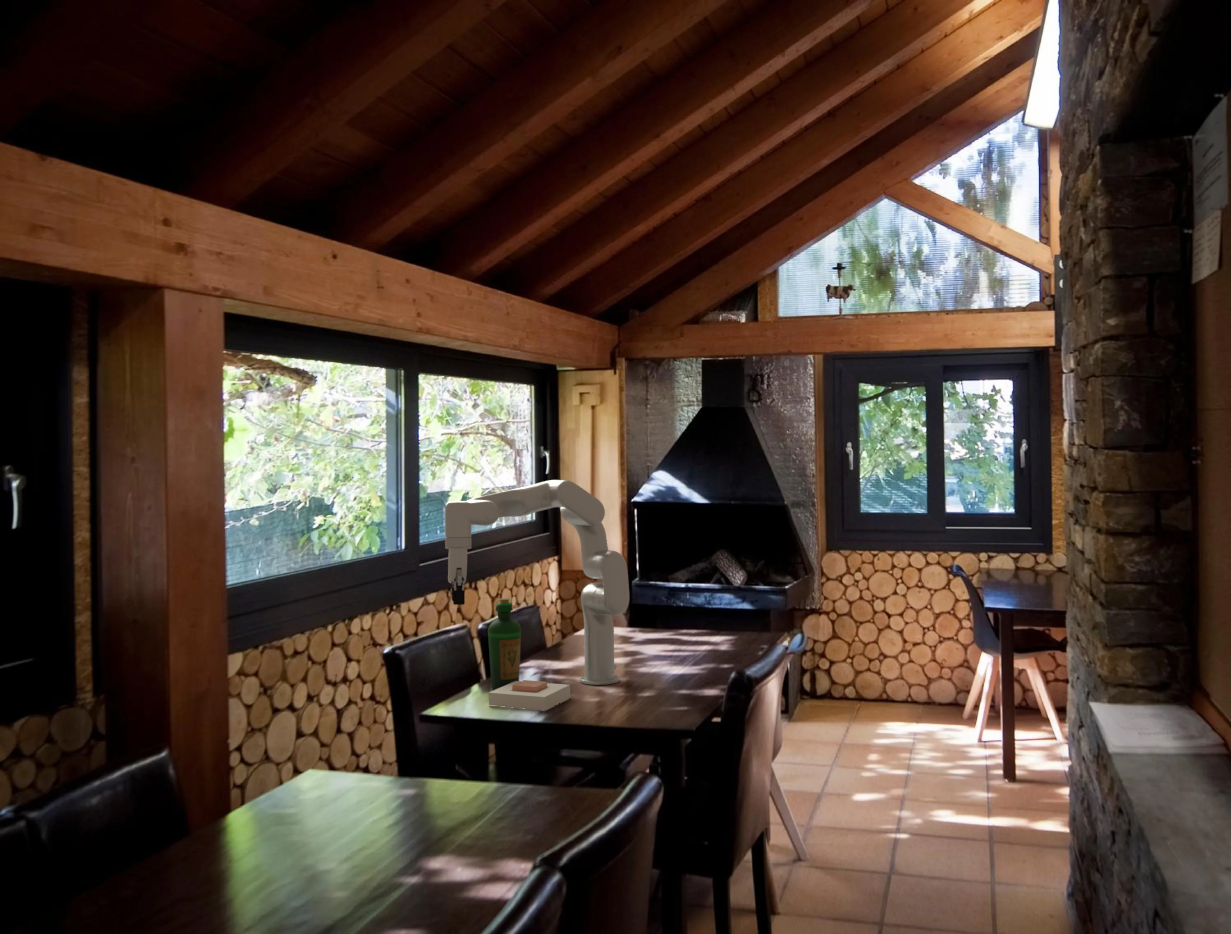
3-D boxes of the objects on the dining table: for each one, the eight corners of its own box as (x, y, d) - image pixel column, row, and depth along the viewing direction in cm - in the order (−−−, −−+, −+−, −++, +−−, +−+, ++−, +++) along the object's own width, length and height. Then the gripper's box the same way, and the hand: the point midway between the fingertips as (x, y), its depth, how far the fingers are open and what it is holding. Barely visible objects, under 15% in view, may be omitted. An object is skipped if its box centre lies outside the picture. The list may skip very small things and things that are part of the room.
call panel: (516, 694, 311) (516, 680, 311) (570, 698, 304) (569, 684, 304) (488, 706, 295) (488, 692, 295) (544, 711, 289) (544, 696, 289)
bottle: (516, 692, 313) (515, 601, 313) (483, 691, 315) (482, 600, 315) (526, 685, 324) (525, 596, 324) (494, 684, 326) (493, 596, 326)
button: (524, 693, 305) (524, 680, 305) (547, 695, 302) (547, 681, 302) (512, 698, 298) (512, 685, 298) (535, 700, 295) (535, 687, 295)
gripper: (444, 541, 304) (443, 599, 304) (446, 545, 287) (446, 606, 287) (469, 541, 306) (469, 598, 306) (473, 545, 289) (472, 605, 289)
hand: (458, 602), depth 296 cm, fingers open, 9 cm apart
